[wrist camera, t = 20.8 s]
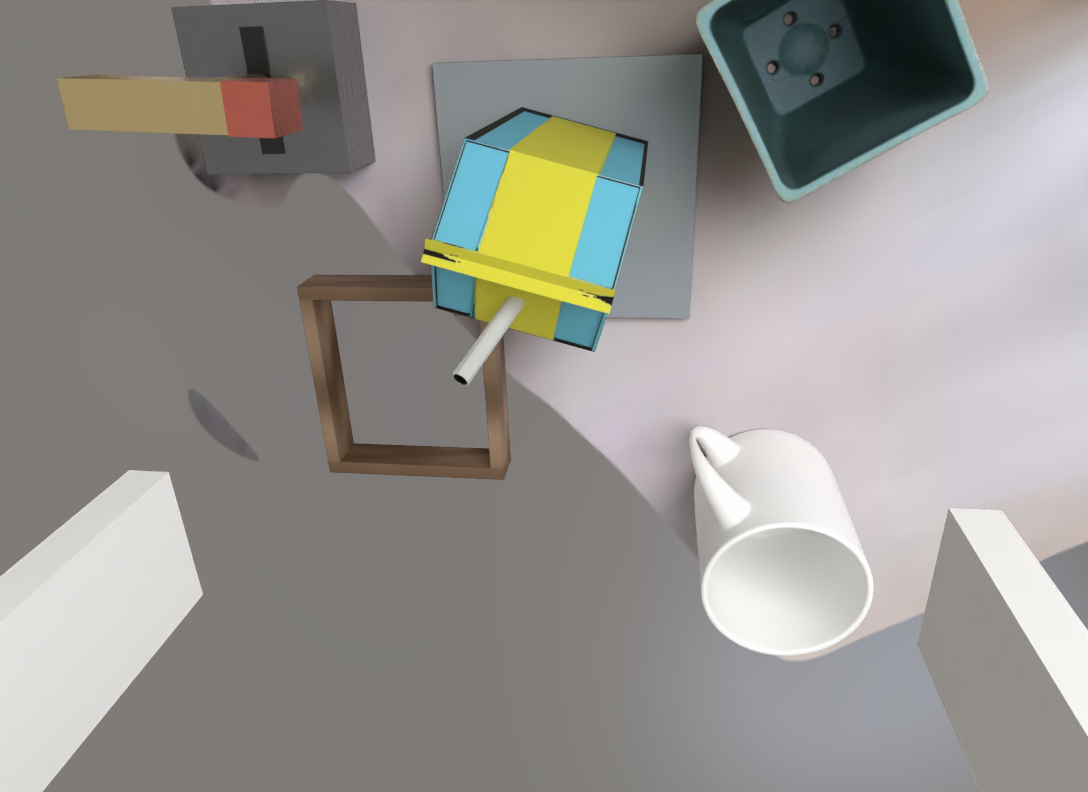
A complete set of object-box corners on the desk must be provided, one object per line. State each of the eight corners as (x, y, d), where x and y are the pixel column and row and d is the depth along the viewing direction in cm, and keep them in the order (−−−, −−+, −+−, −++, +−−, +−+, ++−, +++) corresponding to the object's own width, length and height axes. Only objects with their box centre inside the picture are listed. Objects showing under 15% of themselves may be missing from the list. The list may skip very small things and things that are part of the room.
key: (180, 112, 39) (68, 131, 32) (172, 68, 38) (55, 76, 31) (350, 117, 38) (275, 138, 31) (346, 72, 37) (267, 82, 30)
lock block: (213, 9, 41) (170, 7, 37) (355, 3, 40) (324, 0, 36) (243, 163, 45) (206, 174, 41) (375, 160, 43) (349, 172, 40)
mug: (747, 357, 45) (770, 444, 36) (858, 495, 48) (907, 610, 39) (633, 434, 49) (626, 532, 39) (743, 559, 52) (763, 679, 42)
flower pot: (924, 82, 38) (995, 96, 30) (758, 174, 41) (783, 208, 33) (855, -93, 35) (913, -130, 27) (683, 18, 38) (690, 14, 30)
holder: (314, 274, 47) (297, 286, 45) (499, 275, 45) (491, 288, 43) (344, 453, 52) (330, 472, 50) (510, 459, 51) (503, 479, 48)
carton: (487, 245, 44) (386, 369, 28) (516, 105, 41) (420, 154, 24) (611, 279, 44) (582, 424, 28) (651, 142, 40) (645, 215, 24)
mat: (435, 62, 41) (432, 63, 40) (702, 53, 39) (702, 54, 38) (456, 312, 47) (454, 315, 46) (689, 315, 45) (689, 318, 44)
